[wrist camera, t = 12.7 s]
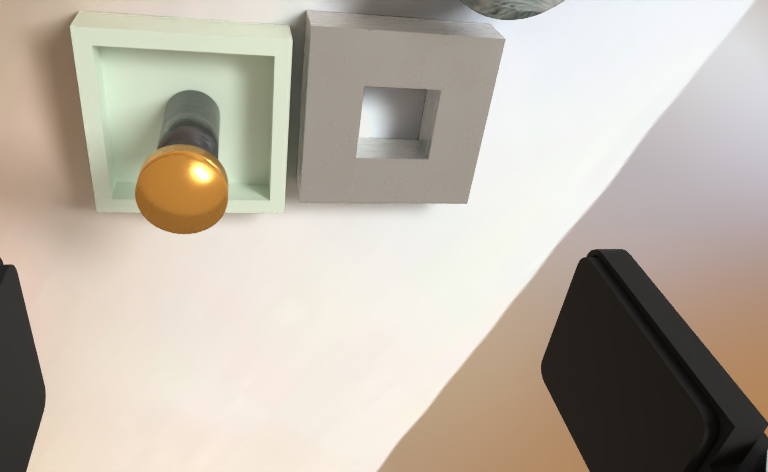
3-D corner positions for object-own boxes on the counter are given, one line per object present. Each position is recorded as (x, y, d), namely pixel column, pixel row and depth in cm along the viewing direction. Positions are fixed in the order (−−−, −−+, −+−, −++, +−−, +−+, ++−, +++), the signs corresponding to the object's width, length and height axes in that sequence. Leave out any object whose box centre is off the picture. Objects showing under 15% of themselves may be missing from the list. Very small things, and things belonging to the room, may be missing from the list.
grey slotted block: (306, 10, 40) (311, 25, 37) (489, 23, 42) (505, 39, 40) (296, 180, 46) (299, 202, 44) (455, 182, 49) (467, 203, 47)
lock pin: (152, 78, 40) (131, 157, 32) (229, 82, 41) (227, 159, 33) (157, 145, 42) (138, 233, 34) (229, 148, 43) (228, 234, 35)
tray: (79, 10, 37) (69, 26, 35) (289, 25, 40) (292, 40, 38) (103, 189, 44) (96, 212, 42) (281, 191, 47) (284, 213, 45)
